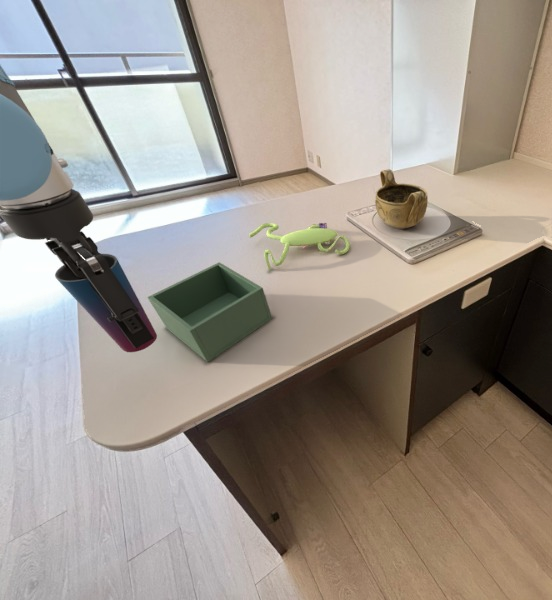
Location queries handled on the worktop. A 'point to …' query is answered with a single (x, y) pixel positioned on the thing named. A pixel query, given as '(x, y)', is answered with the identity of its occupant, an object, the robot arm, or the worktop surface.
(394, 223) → the ceramic bowl
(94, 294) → the cup
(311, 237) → the figurine
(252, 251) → the worktop surface
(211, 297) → the bin
